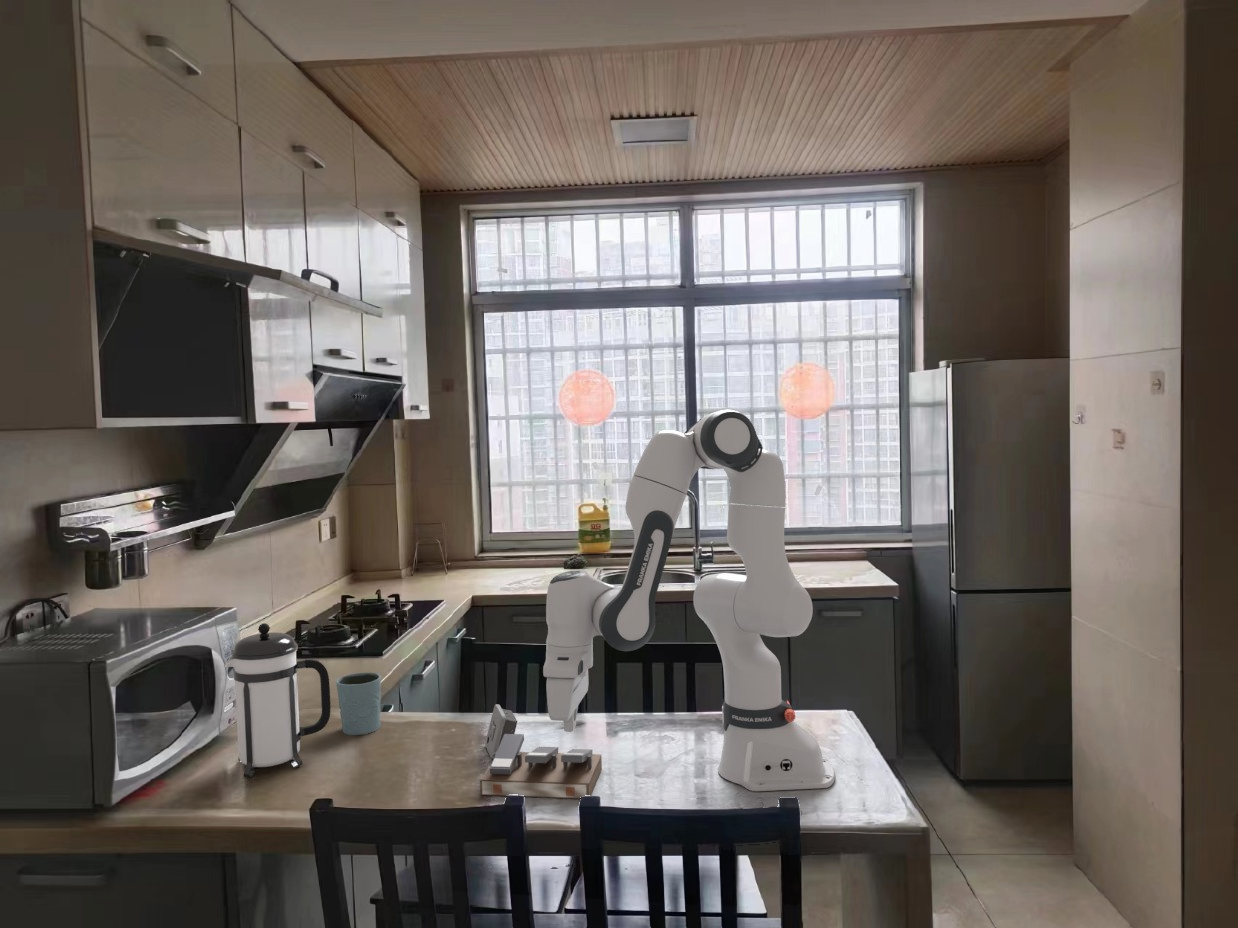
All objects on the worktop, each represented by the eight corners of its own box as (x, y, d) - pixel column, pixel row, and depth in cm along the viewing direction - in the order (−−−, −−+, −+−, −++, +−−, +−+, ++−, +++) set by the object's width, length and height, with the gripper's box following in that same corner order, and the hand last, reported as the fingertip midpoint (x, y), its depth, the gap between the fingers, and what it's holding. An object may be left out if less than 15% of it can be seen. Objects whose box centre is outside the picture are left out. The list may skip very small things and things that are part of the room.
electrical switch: (484, 745, 189) (487, 703, 189) (508, 744, 190) (510, 703, 190) (491, 761, 180) (494, 717, 180) (515, 760, 181) (518, 716, 181)
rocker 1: (524, 739, 174) (523, 733, 174) (510, 774, 164) (509, 768, 164) (505, 738, 175) (504, 733, 175) (490, 773, 165) (489, 767, 164)
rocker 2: (592, 755, 172) (592, 748, 172) (581, 762, 161) (582, 755, 162) (572, 755, 173) (572, 748, 173) (561, 761, 162) (561, 754, 162)
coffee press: (277, 783, 171) (270, 634, 170) (215, 774, 177) (208, 629, 175) (334, 751, 187) (328, 615, 186) (275, 744, 193) (269, 611, 192)
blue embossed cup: (366, 738, 195) (364, 686, 195) (328, 734, 198) (326, 682, 198) (391, 723, 205) (389, 673, 204) (355, 719, 208) (353, 670, 207)
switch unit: (601, 768, 174) (601, 742, 174) (588, 800, 160) (588, 771, 159) (501, 765, 177) (500, 739, 177) (479, 796, 163) (478, 767, 162)
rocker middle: (558, 753, 173) (558, 746, 173) (545, 763, 162) (545, 755, 163) (538, 752, 174) (538, 745, 174) (524, 762, 163) (525, 755, 163)
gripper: (565, 644, 174) (565, 711, 175) (540, 670, 154) (541, 746, 154) (595, 644, 173) (596, 713, 174) (575, 671, 153) (575, 748, 153)
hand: (570, 729), depth 164 cm, fingers closed
